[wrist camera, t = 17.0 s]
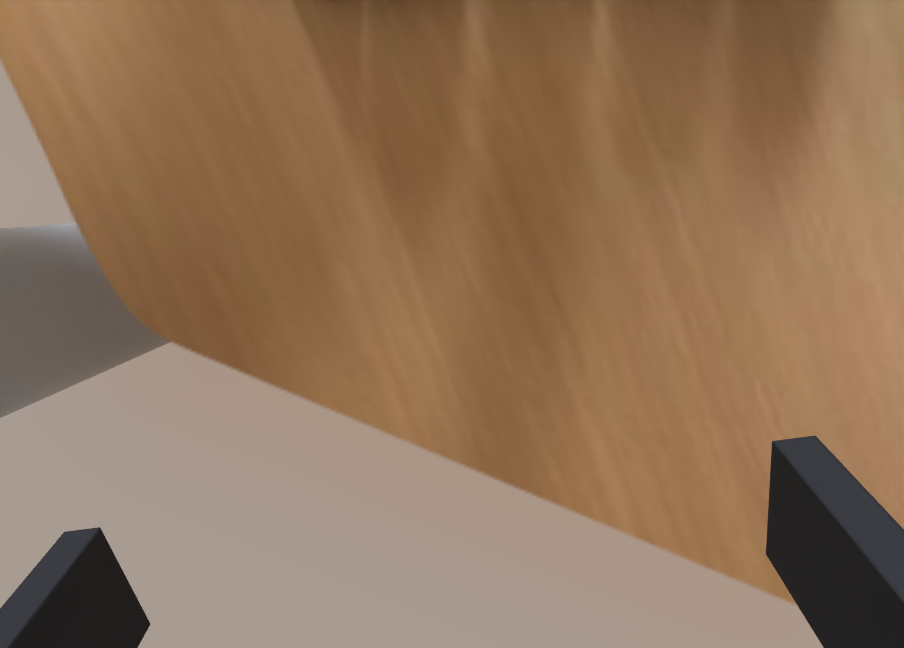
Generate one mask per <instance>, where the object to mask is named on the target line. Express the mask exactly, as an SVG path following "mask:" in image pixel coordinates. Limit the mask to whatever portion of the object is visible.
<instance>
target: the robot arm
mask: <svg viewBox="0 0 904 648" xmlns="http://www.w3.org/2000/svg"><path fill="white" fill-rule="evenodd" d="M766 555H767V556H768V558H769V560H770V561H771V563H772V565H773V566H774V568H775V569H776V571H777V573H778V574H779V576H780V577H781V579H782V581H783V582H784V584H785V586H786V587H787V589H788V590H789V592H790V594H791V595H792V597H793V599H794V600H795V602H796V603H797V605H798V607H799V608H800V610H801V611H802V613H803V615H804V616H805V618H806V620H807V621H808V623H809V624H810V626H811V628H812V629H813V631H814V633H815V634H816V636H817V637H818V639H819V641H820V642H821V644H822V645H823V647H824V648H904V529H903V528H902V527H901V526H900V525H899V524H898V523H897V522H896V521H895V520H894V519H893V518H892V517H891V515H890V514H889V513H888V512H887V511H886V510H885V509H884V508H883V507H882V506H881V505H880V504H879V503H878V502H877V501H876V500H875V498H874V497H873V496H872V495H871V494H870V493H869V492H868V491H867V490H866V489H865V488H864V487H863V486H862V485H861V484H860V483H859V482H858V480H857V479H856V478H855V477H854V476H853V475H852V474H851V473H850V472H849V471H848V470H847V469H846V468H845V467H844V466H843V465H842V463H841V462H840V461H839V460H838V459H837V458H836V457H835V456H834V455H833V454H832V453H831V452H830V451H829V450H828V449H827V448H826V446H825V445H824V444H823V443H822V442H821V441H820V440H819V439H818V438H817V437H816V436H809V437H801V438H794V439H786V440H778V441H772V454H771V472H770V490H769V508H768V526H767V544H766ZM149 626H150V622H149V620H148V619H147V617H146V615H145V613H144V611H143V609H142V607H141V606H140V603H139V601H138V599H137V597H136V596H135V594H134V592H133V590H132V588H131V586H130V584H129V582H128V580H127V578H126V576H125V575H124V573H123V571H122V569H121V567H120V565H119V563H118V561H117V559H116V557H115V555H114V553H113V552H112V550H111V548H110V546H109V544H108V542H107V540H106V538H105V536H104V534H103V532H102V530H101V528H92V529H84V530H76V531H68V532H64V533H63V534H62V535H61V537H60V538H59V539H58V540H57V541H56V543H55V544H54V545H53V546H52V547H51V549H50V550H49V551H48V552H47V553H46V555H45V556H44V557H43V558H42V559H41V561H40V562H39V563H38V564H37V566H36V567H35V568H34V569H33V570H32V571H31V573H30V574H29V575H28V576H27V577H26V579H25V580H24V581H23V582H22V583H21V584H20V586H19V587H18V588H17V589H16V591H15V592H14V593H13V594H12V596H11V597H10V598H9V599H8V600H7V601H6V603H5V604H4V605H3V606H2V607H1V608H0V648H137V647H138V645H139V644H140V642H141V640H142V638H143V637H144V635H145V633H146V631H147V629H148V627H149Z"/></svg>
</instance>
